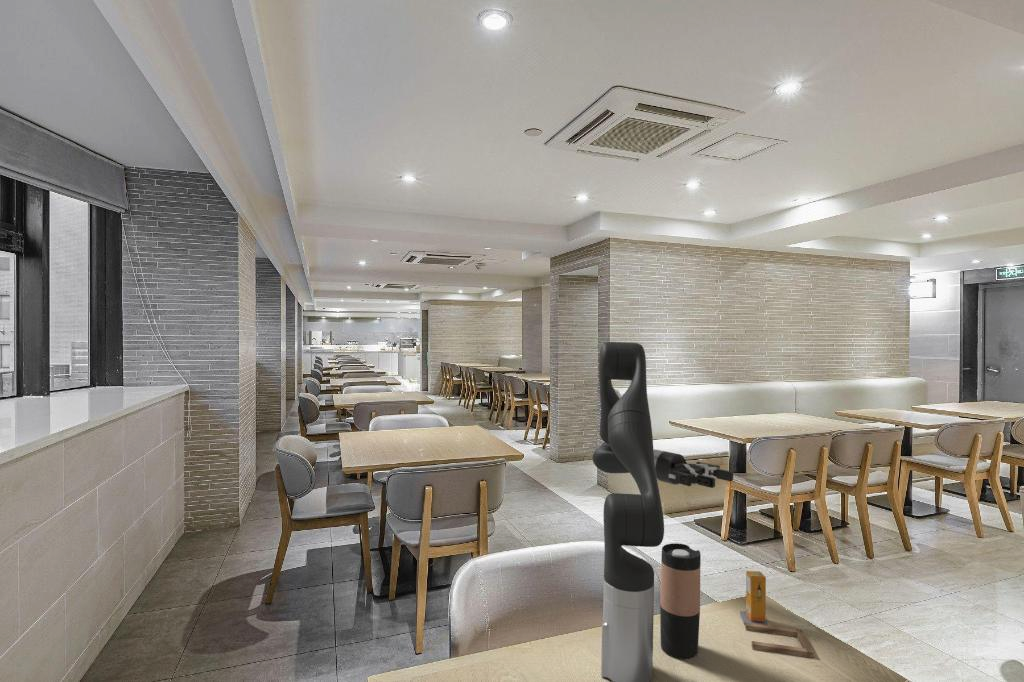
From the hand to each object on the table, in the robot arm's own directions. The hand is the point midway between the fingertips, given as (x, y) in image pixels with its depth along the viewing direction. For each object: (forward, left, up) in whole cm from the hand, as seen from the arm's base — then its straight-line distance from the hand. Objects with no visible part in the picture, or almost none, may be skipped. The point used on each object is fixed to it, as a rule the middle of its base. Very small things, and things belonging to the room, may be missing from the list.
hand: (723, 479), depth 123 cm
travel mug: (-11, -19, -30) cm, 37 cm away
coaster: (+6, -3, -30) cm, 31 cm away
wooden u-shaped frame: (+9, -11, -30) cm, 33 cm away
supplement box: (+7, -4, -30) cm, 31 cm away
